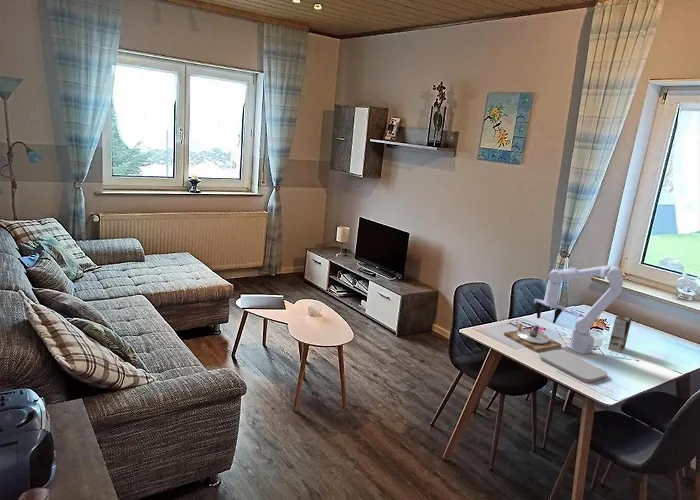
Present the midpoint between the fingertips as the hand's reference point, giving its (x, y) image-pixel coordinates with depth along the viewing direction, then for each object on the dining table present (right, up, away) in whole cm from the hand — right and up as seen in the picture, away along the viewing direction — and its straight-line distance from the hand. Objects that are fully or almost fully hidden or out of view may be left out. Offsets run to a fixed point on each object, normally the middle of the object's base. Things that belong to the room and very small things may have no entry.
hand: (546, 320), depth 249 cm
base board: (-7, -10, 0) cm, 12 cm away
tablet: (+1, -18, -26) cm, 31 cm away
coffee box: (+36, -14, +2) cm, 38 cm away
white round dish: (-7, -8, -1) cm, 11 cm away
